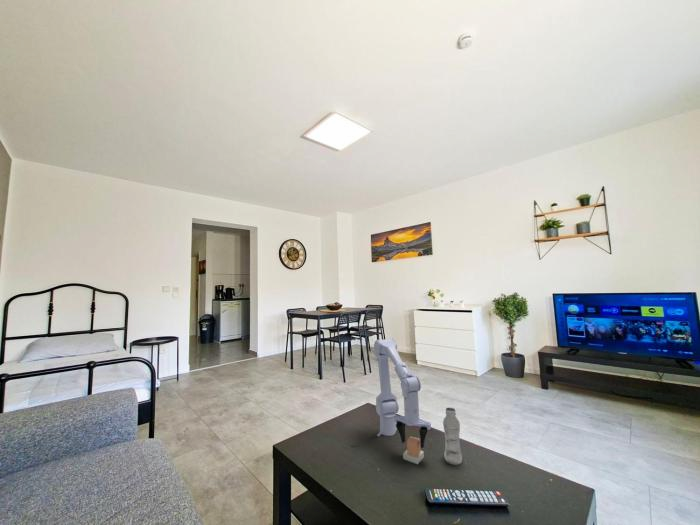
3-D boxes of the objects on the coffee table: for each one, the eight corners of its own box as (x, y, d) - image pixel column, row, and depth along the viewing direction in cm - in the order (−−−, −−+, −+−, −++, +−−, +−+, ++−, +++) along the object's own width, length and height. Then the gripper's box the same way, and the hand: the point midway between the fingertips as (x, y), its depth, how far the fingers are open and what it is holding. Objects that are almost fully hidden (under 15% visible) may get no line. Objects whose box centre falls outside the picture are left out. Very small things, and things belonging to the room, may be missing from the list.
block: (411, 449, 112) (410, 436, 113) (420, 452, 110) (420, 438, 111) (407, 454, 109) (406, 440, 110) (417, 457, 107) (416, 443, 107)
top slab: (409, 452, 114) (409, 446, 114) (423, 456, 110) (423, 451, 111) (403, 459, 109) (403, 453, 109) (417, 464, 106) (417, 458, 106)
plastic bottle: (441, 464, 107) (438, 409, 110) (449, 456, 112) (446, 404, 115) (458, 471, 103) (455, 414, 105) (465, 463, 108) (461, 408, 110)
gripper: (390, 408, 112) (392, 444, 110) (426, 415, 105) (428, 454, 103) (397, 402, 118) (398, 436, 116) (431, 408, 111) (433, 445, 109)
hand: (412, 444), depth 110 cm, fingers open, 7 cm apart
